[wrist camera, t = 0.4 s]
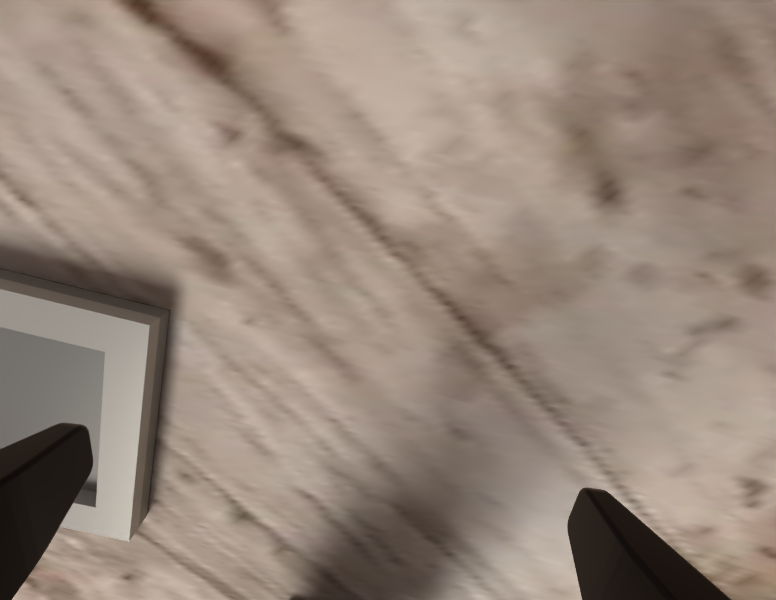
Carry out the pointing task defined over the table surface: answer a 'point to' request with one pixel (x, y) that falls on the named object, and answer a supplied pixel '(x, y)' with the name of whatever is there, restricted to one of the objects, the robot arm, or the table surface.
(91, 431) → the tray
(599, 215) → the table surface
